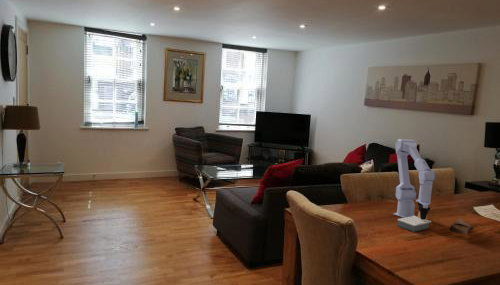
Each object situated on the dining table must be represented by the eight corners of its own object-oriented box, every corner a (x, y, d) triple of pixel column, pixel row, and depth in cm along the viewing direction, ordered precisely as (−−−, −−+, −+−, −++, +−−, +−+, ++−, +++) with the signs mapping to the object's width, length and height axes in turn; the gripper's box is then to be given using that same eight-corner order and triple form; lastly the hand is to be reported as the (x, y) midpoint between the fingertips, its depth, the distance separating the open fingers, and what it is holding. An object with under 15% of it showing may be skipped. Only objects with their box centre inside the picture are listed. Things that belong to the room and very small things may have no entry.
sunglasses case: (468, 235, 180) (461, 222, 181) (453, 238, 184) (447, 226, 186) (473, 226, 194) (467, 215, 195) (460, 230, 198) (454, 218, 200)
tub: (412, 223, 195) (413, 217, 194) (428, 228, 187) (429, 223, 187) (397, 226, 188) (398, 220, 187) (413, 232, 180) (413, 226, 180)
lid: (414, 219, 195) (415, 210, 195) (431, 225, 187) (432, 215, 187) (397, 222, 188) (398, 213, 187) (413, 229, 179) (414, 218, 179)
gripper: (415, 188, 197) (412, 212, 199) (418, 194, 184) (415, 220, 185) (429, 190, 195) (427, 214, 196) (433, 196, 181) (430, 222, 183)
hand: (422, 217), depth 191 cm, fingers open, 5 cm apart
